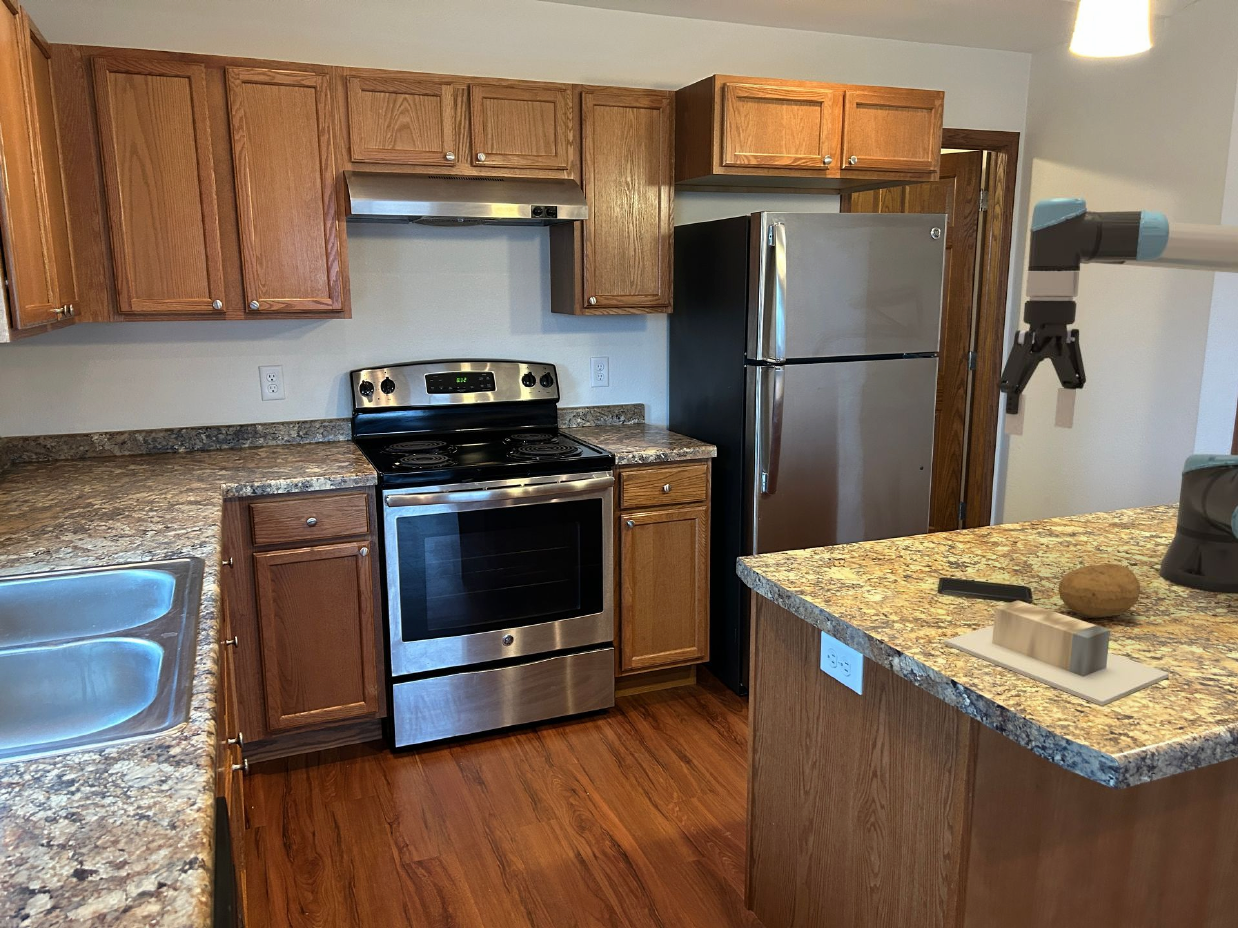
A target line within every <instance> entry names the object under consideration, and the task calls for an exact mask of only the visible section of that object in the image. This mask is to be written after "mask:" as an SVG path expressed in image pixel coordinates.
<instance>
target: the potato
mask: <svg viewBox="0 0 1238 928" xmlns="http://www.w3.org/2000/svg"><path fill="white" fill-rule="evenodd" d="M1140 585H1141V584H1140V582H1139V580H1138V578H1137V576H1136V575H1135V573H1134V572H1133V571H1132V570H1131V569H1130V568H1127V567H1126V566H1124V565H1122V564H1116V563H1115V564H1114V563H1109V564H1096V565H1093V564H1092V565H1083V566H1082V567H1078V568H1075V569H1074V570H1072V571H1069V572H1068V573H1066V574H1064V576H1063V577H1062V578H1061V580H1060V582H1059V585H1058V588H1057V589H1058V592H1059V593H1058V594H1059V597H1060V599H1061V601H1062V602H1063V604H1064V605H1065V606H1066V607H1067V608H1068V609H1070V610H1071V611H1072V612H1074V613H1075V614H1077V615H1078V616H1081V617H1083V618H1088V619H1090V618H1091V619H1093V618H1094V619H1097V618H1104V617H1105V618H1106V617H1111V616H1117V615H1120V614H1122V613H1123V612H1126V611H1127V610H1129V609H1130V608H1132V607H1133V606H1135V604H1136V603H1137V601H1138V599H1139V597H1140V594H1141V587H1140Z"/></svg>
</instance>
